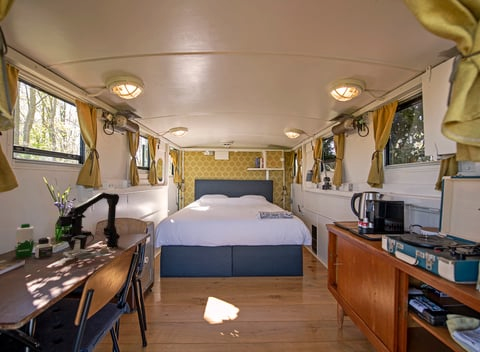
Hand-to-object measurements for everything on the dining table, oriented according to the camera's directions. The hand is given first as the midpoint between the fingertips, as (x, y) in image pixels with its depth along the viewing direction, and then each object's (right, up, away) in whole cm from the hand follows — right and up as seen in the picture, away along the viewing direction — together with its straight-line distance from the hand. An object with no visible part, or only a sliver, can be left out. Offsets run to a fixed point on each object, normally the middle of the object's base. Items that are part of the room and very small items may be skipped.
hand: (75, 249), depth 154 cm
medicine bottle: (-18, -4, -4) cm, 19 cm away
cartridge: (0, -2, 0) cm, 2 cm away
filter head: (+13, -4, -1) cm, 13 cm away
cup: (-7, -5, +17) cm, 19 cm away
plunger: (+16, -3, +4) cm, 17 cm away
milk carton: (-32, -4, -2) cm, 32 cm away
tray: (0, -4, 0) cm, 4 cm away
